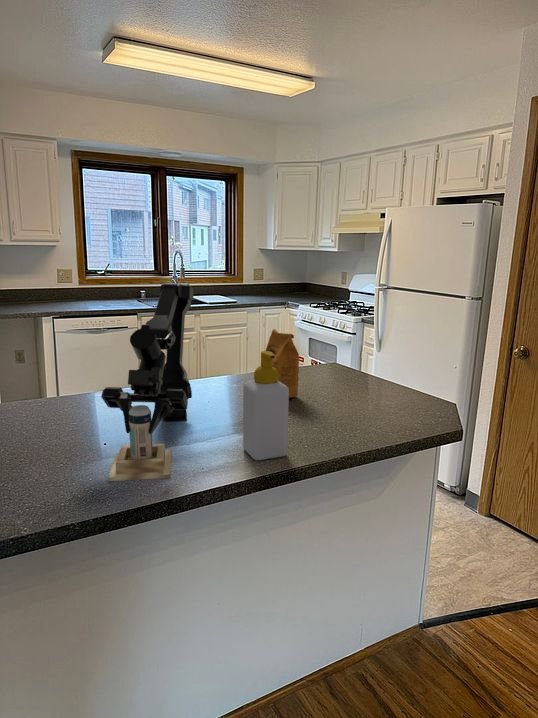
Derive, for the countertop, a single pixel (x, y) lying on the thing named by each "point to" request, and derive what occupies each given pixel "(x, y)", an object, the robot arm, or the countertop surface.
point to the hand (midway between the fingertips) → (138, 433)
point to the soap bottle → (265, 412)
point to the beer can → (140, 432)
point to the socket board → (141, 465)
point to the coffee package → (285, 360)
